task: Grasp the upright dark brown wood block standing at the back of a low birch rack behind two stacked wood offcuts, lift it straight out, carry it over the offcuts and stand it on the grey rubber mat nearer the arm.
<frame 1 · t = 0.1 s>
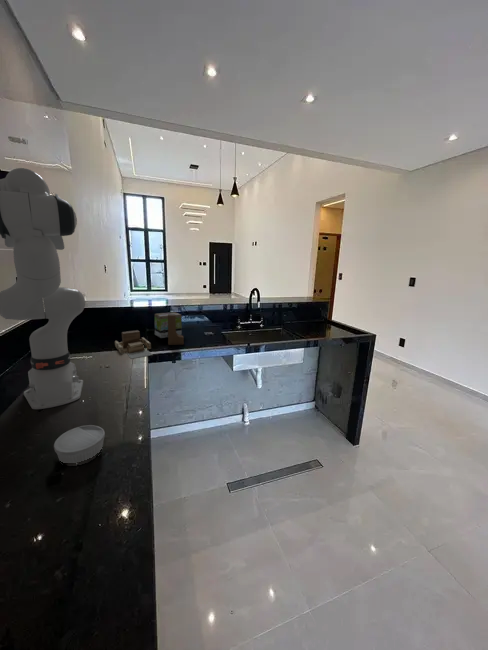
hand: (38, 259, 116), 48 cm above the countertop, fingers open, 8 cm apart
offcut upper: (135, 346, 148), point 3 cm above the countertop, touching offcut lower
dark brown wood block: (131, 346, 155), resting on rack
wooden block: (176, 344, 164), on the countertop
tea box: (168, 335, 181), on the countertop
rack: (133, 347, 153), on the countertop
ramekin: (82, 455, 71), on the countertop
mat: (139, 355, 143), on the countertop
offcut lower: (135, 350, 148), on the countertop, touching offcut upper, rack
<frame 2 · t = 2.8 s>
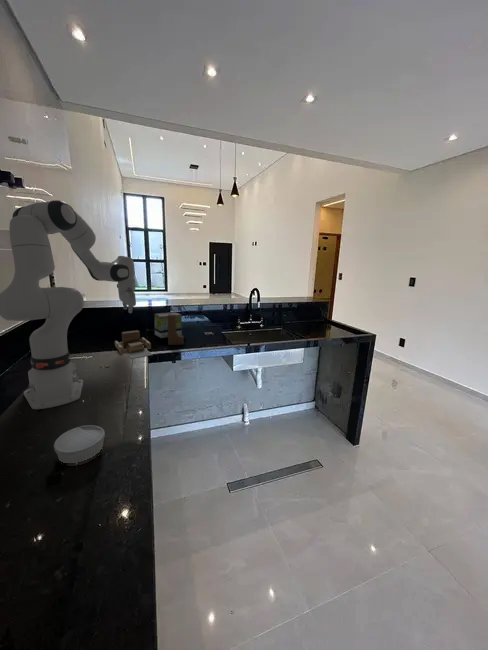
hand: (127, 311, 151), 21 cm above the countertop, fingers open, 8 cm apart
nothing on the countertop moved.
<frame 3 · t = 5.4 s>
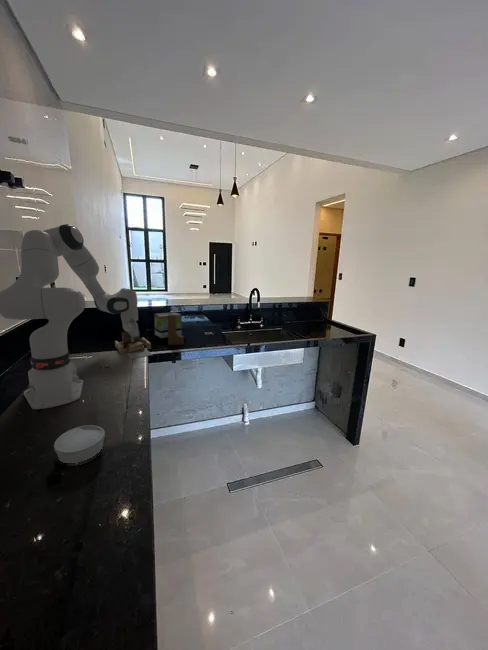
hand: (131, 340, 154), 4 cm above the countertop, fingers closed on dark brown wood block, 3 cm apart
dark brown wood block: (131, 346, 155), resting on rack, touching gripper
everything else where it was.
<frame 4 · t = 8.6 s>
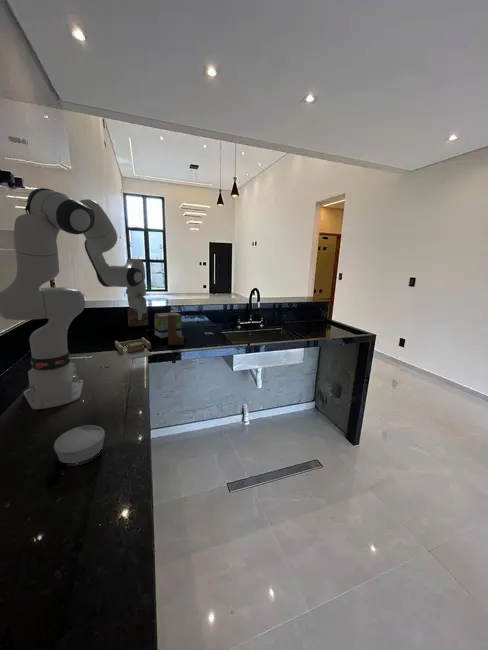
hand: (138, 318, 138), 20 cm above the countertop, fingers closed on dark brown wood block, 3 cm apart
dark brown wood block: (138, 324, 139), point 17 cm above the countertop, touching gripper
everything else where it was.
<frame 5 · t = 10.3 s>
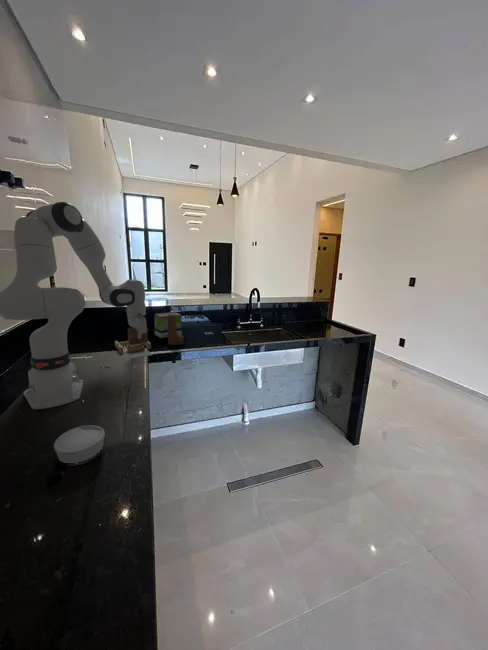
hand: (137, 337, 141), 10 cm above the countertop, fingers closed on dark brown wood block, 3 cm apart
dark brown wood block: (138, 343, 142), point 7 cm above the countertop, touching gripper
everything else where it was.
when the fingers open (5 cm above the countertop, at t = 12.0 s): dark brown wood block drops 1 cm, resting on mat.
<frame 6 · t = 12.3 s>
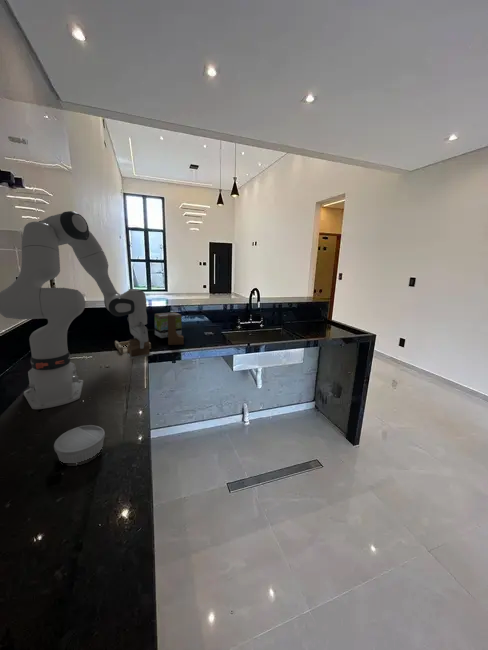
hand: (139, 346, 141), 5 cm above the countertop, fingers open, 7 cm apart
dark brown wood block: (139, 354, 142), resting on mat
everything else where it was.
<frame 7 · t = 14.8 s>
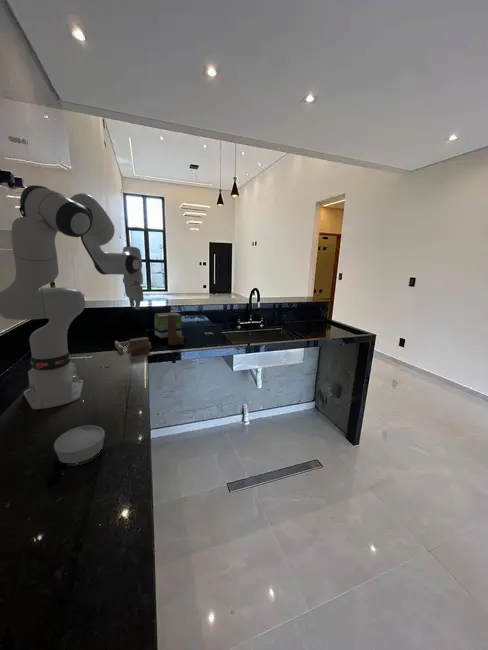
hand: (134, 307, 137), 25 cm above the countertop, fingers open, 8 cm apart
nothing on the countertop moved.
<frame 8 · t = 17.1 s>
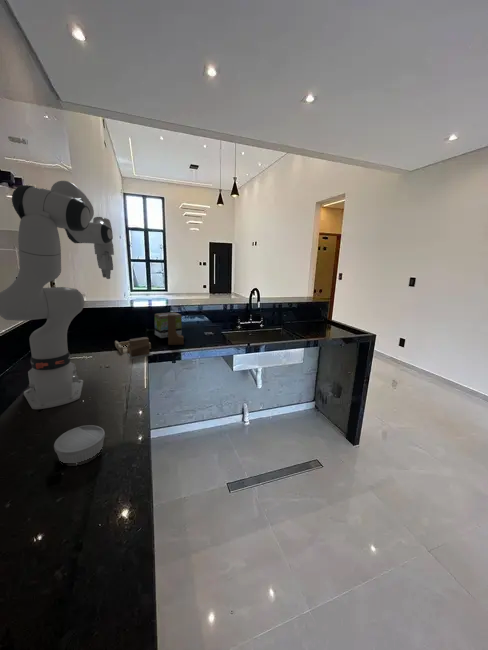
hand: (106, 278, 142), 39 cm above the countertop, fingers open, 8 cm apart
nothing on the countertop moved.
at the end: dark brown wood block inside the target area (0.0 cm from its centre), point 0.5 cm above the countertop; dark brown wood block tilted 0°; the gripper is holding nothing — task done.
